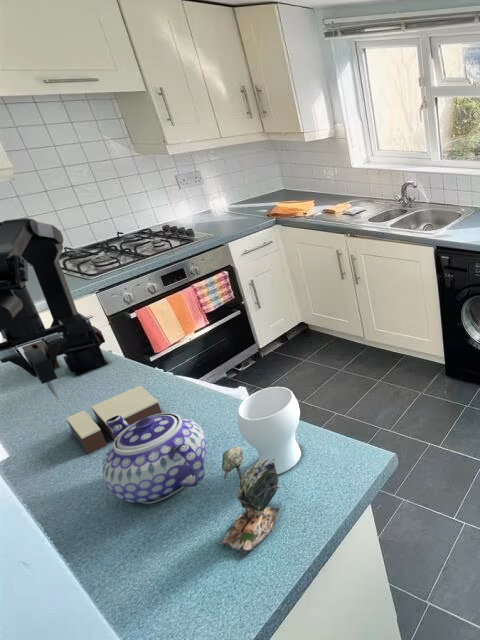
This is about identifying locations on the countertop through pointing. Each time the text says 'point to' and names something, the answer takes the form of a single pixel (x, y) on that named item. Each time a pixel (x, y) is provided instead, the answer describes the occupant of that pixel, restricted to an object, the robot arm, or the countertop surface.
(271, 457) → the cup
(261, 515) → the bird figurine
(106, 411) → the cake loaf
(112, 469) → the teapot
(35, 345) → the knife block
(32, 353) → the black handle
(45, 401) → the countertop surface
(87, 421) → the cream-topped brown block
